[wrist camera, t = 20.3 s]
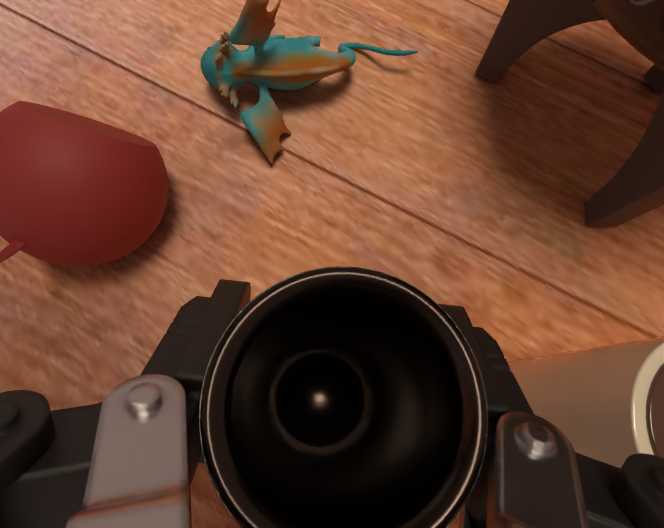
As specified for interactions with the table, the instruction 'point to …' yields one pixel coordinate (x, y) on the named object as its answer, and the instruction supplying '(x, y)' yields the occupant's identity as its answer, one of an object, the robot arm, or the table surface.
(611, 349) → the pot
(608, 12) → the planter
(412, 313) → the grey cylindrical cup
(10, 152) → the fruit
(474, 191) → the table surface
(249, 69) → the dragon figurine
